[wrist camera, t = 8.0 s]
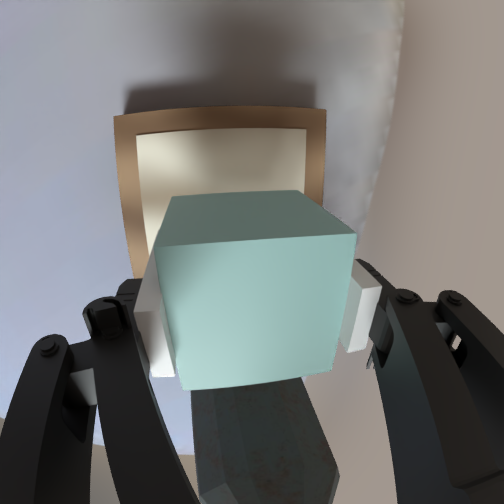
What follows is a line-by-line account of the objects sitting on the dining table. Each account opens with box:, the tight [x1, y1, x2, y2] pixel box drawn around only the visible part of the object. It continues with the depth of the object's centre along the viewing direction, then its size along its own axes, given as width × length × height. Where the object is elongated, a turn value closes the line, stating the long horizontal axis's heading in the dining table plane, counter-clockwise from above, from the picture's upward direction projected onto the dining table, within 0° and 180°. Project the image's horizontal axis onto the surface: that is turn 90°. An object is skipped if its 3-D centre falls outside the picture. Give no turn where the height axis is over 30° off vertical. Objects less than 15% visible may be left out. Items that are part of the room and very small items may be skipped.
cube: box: [153, 190, 357, 391], centre depth 12 cm, size 6×6×6 cm
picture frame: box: [114, 106, 326, 279], centre depth 21 cm, size 14×14×3 cm
